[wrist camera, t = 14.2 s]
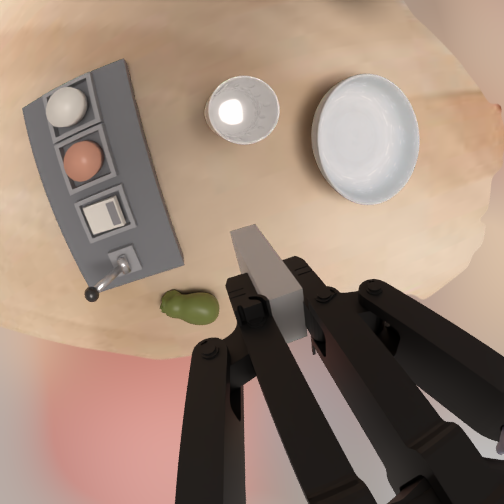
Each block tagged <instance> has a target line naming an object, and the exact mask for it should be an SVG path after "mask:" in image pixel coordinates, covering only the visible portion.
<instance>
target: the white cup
mask: <svg viewBox="0 0 504 504" xmlns="http://www.w3.org/2000/svg"><path fill="white" fill-rule="evenodd" d="M279 114H280V107H279V101H278V98H277V96H276V94H275V92H274V91H273V89H272V88H271V87H270V86H269V85H268V84H267V83H265V82H264V81H262V80H260V79H258V78H255V77H251V76H236V77H233V78H230V79H228V80H226V81H224V82H223V83H221V84H220V85H219V86H218V87H217V88H216V89H215V91H214V92H213V93H212V94H211V96H210V97H209V99H208V101H207V103H206V106H205V111H204V115H205V119H206V123H207V124H208V126H209V127H210V128H211V130H212V131H214V132H215V133H216V134H217V135H219V136H221V137H222V138H224V139H225V140H227V141H229V142H232V143H236V144H253V143H256V142H259V141H261V140H263V139H264V138H266V137H267V136H268V135H269V134H270V133H271V132H272V131H273V129H274V128H275V126H276V124H277V122H278V119H279Z"/></svg>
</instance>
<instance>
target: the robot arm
mask: <svg viewBox="0 0 504 504" xmlns="http://www.w3.org/2000/svg"><path fill="white" fill-rule="evenodd" d="M230 233H231V237H232V241H233V245H234V249H235V252H236V256H237V260H238V264H239V268H240V271H241V273H242V274H241V275H237V276H234V277H231V278H228V279H227V282H226V289H227V292H228V295H229V299H230V302H231V305H232V308H233V311H234V314H235V317H236V320H237V326H236V328H235V330H234V331H233V332H232V334H230V335H229V336H228V337H226V338H225V339H223V340H221V339H219V338H208V339H204V340H202V341H201V342H199V343H198V344H197V345H196V346H195V347H194V350H193V352H192V358H191V365H190V372H189V379H188V386H187V393H186V401H185V409H184V417H183V425H182V434H181V443H180V452H179V462H178V473H177V485H176V497H175V504H246V495H245V494H246V493H245V451H244V396H243V395H244V394H243V385H244V384H245V383H247V382H248V381H250V380H251V379H253V378H254V377H256V376H257V379H258V381H259V384H260V387H261V389H262V392H263V395H264V397H265V400H266V402H267V405H268V408H269V410H270V413H271V416H272V418H273V420H274V423H275V426H276V428H277V431H278V433H279V436H280V438H281V441H282V443H283V446H284V448H285V450H286V453H287V455H288V458H289V460H290V463H291V465H292V467H293V470H294V472H295V474H296V477H297V479H298V481H299V484H300V486H301V488H302V491H303V493H304V495H305V498H306V499H307V502H308V504H377V503H376V501H375V499H374V497H373V495H372V494H371V492H370V490H369V489H368V487H367V486H366V484H365V483H364V482H363V481H362V480H361V479H359V478H358V476H357V475H356V474H355V472H354V470H353V468H352V467H351V465H350V463H349V461H348V459H347V457H346V455H345V454H344V452H343V450H342V448H341V446H340V444H339V442H338V441H337V439H336V437H335V435H334V433H333V431H332V429H331V427H330V426H329V424H328V422H327V420H326V418H325V416H324V414H323V412H322V411H321V408H320V407H319V405H318V403H317V401H316V399H315V397H314V395H313V393H312V391H311V389H310V388H309V385H308V384H307V382H306V380H305V378H304V376H303V374H302V372H301V371H300V368H299V366H298V364H297V362H296V361H295V359H294V357H293V355H292V353H291V351H290V349H289V347H288V345H287V343H290V342H293V341H295V340H298V339H301V338H303V337H306V336H307V329H308V331H309V332H310V334H311V342H312V352H313V355H314V354H315V349H316V351H317V353H318V354H319V356H320V358H321V359H322V361H323V363H324V364H325V366H326V368H327V369H328V371H329V373H330V375H331V376H332V378H333V379H334V381H335V383H336V385H337V386H338V388H339V390H340V391H341V393H342V395H343V396H344V398H345V400H346V401H347V403H348V405H349V407H350V408H351V410H352V412H353V413H354V415H355V416H356V418H357V420H358V422H359V423H360V425H361V427H362V428H363V430H364V432H365V434H366V435H367V437H368V439H369V440H370V442H371V444H372V445H373V447H374V449H375V450H376V452H377V454H378V456H379V457H380V459H381V461H382V462H383V464H384V466H385V468H386V472H387V478H388V481H389V483H390V485H391V486H392V488H393V490H394V492H395V494H396V496H395V497H394V498H393V499H392V500H391V501H390V502H389V503H387V504H504V460H498V459H491V458H484V457H482V456H481V454H480V453H479V451H478V450H477V449H476V447H475V446H474V444H473V443H472V442H471V440H470V439H469V437H468V436H467V435H466V433H465V432H464V431H463V429H462V428H461V427H460V426H459V425H457V424H456V423H454V422H446V421H444V420H443V419H442V418H441V417H440V416H439V415H438V413H437V412H436V411H435V409H434V408H433V407H432V405H431V404H430V403H429V401H428V400H427V399H426V398H425V396H424V395H423V393H422V392H421V391H420V390H419V388H418V387H420V388H421V389H422V390H423V391H425V392H426V393H427V394H429V395H430V396H431V397H432V398H434V399H435V400H436V401H438V402H439V403H440V404H441V405H443V406H444V407H445V408H447V409H448V410H449V411H450V412H452V413H453V414H454V415H455V416H457V417H458V418H459V419H461V420H462V421H463V422H464V423H466V424H467V425H468V426H470V427H471V428H472V429H474V430H475V431H476V432H478V433H479V434H481V435H483V436H485V437H487V438H489V439H491V440H494V441H498V444H497V446H496V451H497V453H498V454H500V455H502V454H504V357H503V356H502V355H500V354H499V353H497V352H496V351H495V350H493V349H492V348H490V347H489V346H487V345H486V344H484V343H482V342H481V341H479V340H478V339H476V338H475V337H473V336H472V335H470V334H469V333H467V332H466V331H464V330H463V329H461V328H459V327H458V326H456V325H455V324H453V323H451V322H450V321H448V320H447V319H445V318H443V317H442V316H440V315H439V314H437V313H435V312H434V311H432V310H431V309H429V308H427V307H426V306H424V305H422V304H420V303H419V302H417V301H416V300H414V299H413V298H411V297H409V296H407V295H406V294H404V293H402V292H401V291H399V290H397V289H396V288H394V287H392V286H391V285H389V284H387V283H385V282H384V281H381V280H377V279H371V280H366V281H364V282H362V284H361V285H360V286H359V291H355V292H348V293H340V292H339V291H338V290H336V289H335V288H333V287H329V286H326V285H325V284H324V283H323V282H322V280H321V279H320V278H319V277H318V276H317V275H316V273H315V272H314V271H312V269H311V268H310V266H308V264H307V263H306V262H305V261H304V260H303V259H301V258H299V257H297V256H294V257H291V258H288V259H285V260H281V258H280V257H279V255H278V254H277V253H276V251H275V250H274V249H273V247H272V246H271V245H270V243H269V242H268V241H267V239H266V238H265V236H264V235H263V234H262V232H261V231H260V230H259V228H258V227H257V226H256V224H253V225H250V226H247V227H243V228H240V229H237V230H233V231H230ZM416 385H417V386H418V387H417V386H416Z"/></svg>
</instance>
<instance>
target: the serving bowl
mask: <svg viewBox="0 0 504 504" xmlns="http://www.w3.org/2000/svg"><path fill="white" fill-rule="evenodd" d="M311 140H312V149H313V153H314V157H315V160H316V163H317V165H318V168H319V170H320V171H321V173H322V175H323V176H324V178H325V179H326V181H327V182H328V183H329V184H330V185H331V186H332V187H333V188H334V189H335V190H336V191H337V192H338V193H339V194H340V195H342V196H343V197H344V198H346V199H348V200H350V201H352V202H354V203H358V204H362V205H374V204H379V203H382V202H384V201H387V200H389V199H390V198H392V197H393V196H395V195H396V194H397V193H398V192H399V191H400V190H401V189H402V188H403V187H404V186H405V184H406V183H407V182H408V180H409V178H410V177H411V175H412V173H413V170H414V168H415V165H416V162H417V158H418V152H419V128H418V123H417V119H416V116H415V113H414V110H413V108H412V106H411V104H410V102H409V100H408V99H407V97H406V96H405V94H404V93H403V92H402V91H401V90H400V88H398V87H397V86H396V85H395V84H394V83H393V82H391V81H390V80H388V79H386V78H384V77H381V76H378V75H374V74H359V75H355V76H352V77H349V78H346V79H344V80H342V81H340V82H339V83H337V84H336V85H334V86H333V87H332V88H331V89H330V90H329V91H328V92H327V93H326V94H325V95H324V97H323V98H322V100H321V101H320V103H319V105H318V107H317V109H316V112H315V115H314V118H313V123H312V131H311Z"/></svg>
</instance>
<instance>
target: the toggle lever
mask: <svg viewBox="0 0 504 504" xmlns="http://www.w3.org/2000/svg"><path fill="white" fill-rule="evenodd" d="M116 260H117V262H118V264H119V265H117V266H116V267H115V268H114V269H113V270H112V271H111V272H109V273H108V274H107V275H106V276H105V277H104V278H103V279H102V280H101V281H99V282H98V283H97V284H96V285H95V286H94V287H92V286H91V287H88V288H87V289H86V290H85V298H86V299H87V300H88V301H89V302H95V301H96V300H97V299H98V298H99V293H100V292H101V291H102V290H103V289H104V288H105V287H106V286H107V285H108V284H109V283H110V282H111V281H113V280H114V279H115V278H116V277H117V276H118V275H119V274H120V273H121V272H122V273H123V274H124V275H126V274H128V273H130V272H131V271H132V270H131V267H130V265H129V263H128V261H127V259H126V256H125V255H121V256H119V257H118V258H117V259H116Z"/></svg>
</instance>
